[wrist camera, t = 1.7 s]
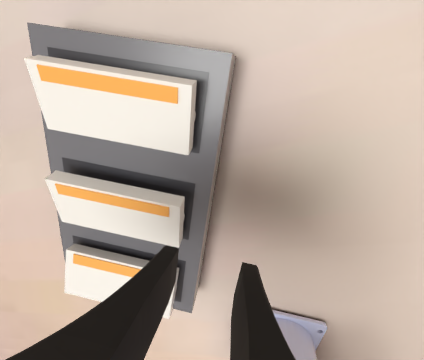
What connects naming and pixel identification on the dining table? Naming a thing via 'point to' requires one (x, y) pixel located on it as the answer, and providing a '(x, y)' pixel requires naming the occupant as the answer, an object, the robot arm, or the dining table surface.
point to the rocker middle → (118, 208)
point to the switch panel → (141, 156)
